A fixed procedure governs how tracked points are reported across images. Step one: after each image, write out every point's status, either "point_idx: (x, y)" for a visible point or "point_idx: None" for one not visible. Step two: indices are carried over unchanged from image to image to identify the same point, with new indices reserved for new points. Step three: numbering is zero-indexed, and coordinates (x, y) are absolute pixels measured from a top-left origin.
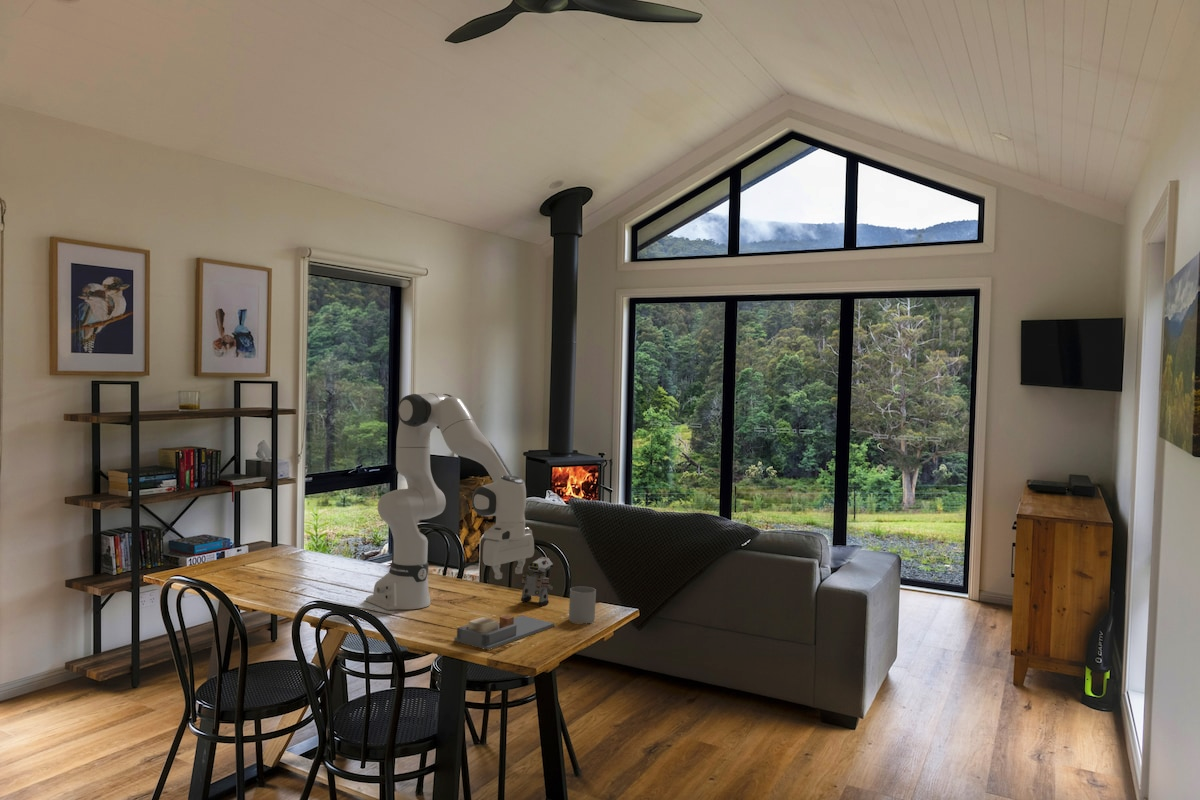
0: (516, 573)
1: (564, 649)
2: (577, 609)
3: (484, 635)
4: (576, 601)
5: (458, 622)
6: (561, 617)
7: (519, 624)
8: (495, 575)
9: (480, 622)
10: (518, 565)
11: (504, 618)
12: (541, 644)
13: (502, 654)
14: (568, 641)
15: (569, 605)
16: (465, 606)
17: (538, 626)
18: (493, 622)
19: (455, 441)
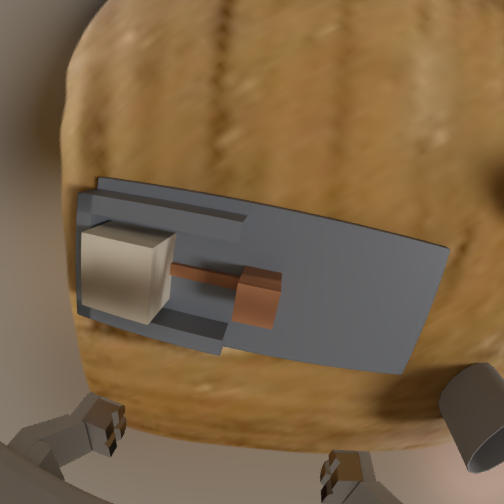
0: (329, 456)
1: (222, 444)
2: (453, 422)
3: (77, 308)
4: (463, 434)
5: (291, 61)
6: (484, 341)
7: (348, 294)
8: (81, 408)
9: (95, 277)
10: (364, 499)
11: (234, 306)
12: (224, 401)
13: (102, 346)
14: (283, 438)
15: (480, 395)
16: (461, 14)
17: (352, 354)
18: (123, 317)
19: None
